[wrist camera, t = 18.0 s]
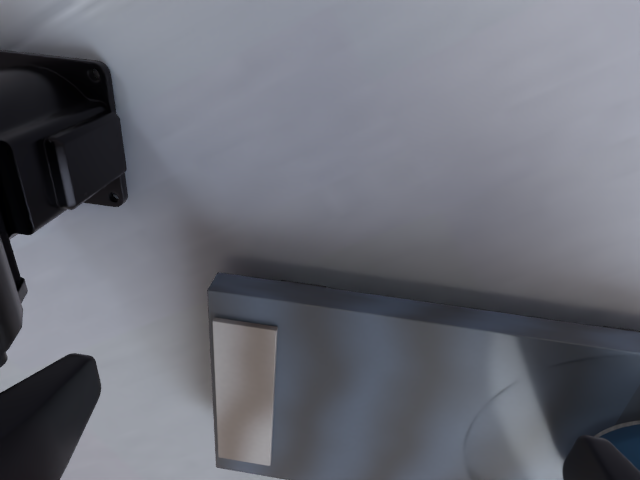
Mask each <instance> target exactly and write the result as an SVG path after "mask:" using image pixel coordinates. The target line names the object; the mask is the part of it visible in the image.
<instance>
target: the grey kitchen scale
mask: <svg viewBox="0 0 640 480" xmlns="http://www.w3.org/2000/svg"><path fill="white" fill-rule="evenodd" d="M207 292H208V312H209V333H210V353H211V373H212V393H213V413H214V433H215V453H216V467H217V468H222V469H228V470H234V471H240V472H245V473H251V474H257V475H263V476H269V477H275V478H280V479H286V480H563V474H562V469H563V463H564V461H565V459H566V457H567V455H568V454H569V452H570V450H571V448H572V447H573V445H574V443H575V441H576V440H577V438H578V437H579V436H581V435H589V436H595V435H596V434H598V433H599V432H601V431H603V430H605V429H607V428H610V427H612V426H615V425H618V424H622V423H626V422H632V421H639V420H640V331H635V330H628V329H621V328H614V327H607V326H604V327H598V326H591V325H584V324H577V323H570V322H563V321H556V320H549V319H542V318H535V317H528V316H521V315H514V314H507V313H500V312H493V311H486V310H479V309H472V308H465V307H458V306H451V305H444V304H437V303H430V302H423V301H416V300H409V299H402V298H395V297H388V296H381V295H374V294H367V293H360V292H353V291H346V290H338V289H331V288H327V287H326V286H319V285H312V284H305V283H298V282H291V281H284V280H281V281H275V280H268V279H261V278H254V277H247V276H240V275H233V274H226V273H217V275H216V276H215V278H214V280H213V281H212V283H211V285H210V287H209V288H208V290H207Z"/></svg>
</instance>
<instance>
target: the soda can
mask: <svg viewBox="0 0 640 480" xmlns="http://www.w3.org/2000/svg"><path fill="white" fill-rule="evenodd" d="M595 437H601V438H605V439H607V440H608V441H609V442H611V443H612V444H613V445H614V446H615V447H616V448H617V449H618V450H619V451H620V452H621V453H622V454H623V455H624V456H625V457H626V458H627V459H628V460H629V461H630V462H631V463H632V464H633V465H634V466H635V467H636V468H637V469H638V470H639V471H640V420H639V421H632V422H626V423H622V424H618V425H615V426H612V427H610V428H607V429H605V430H603V431H601V432H599V433H598V434H596V435H595Z"/></svg>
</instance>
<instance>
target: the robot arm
mask: <svg viewBox="0 0 640 480" xmlns="http://www.w3.org/2000/svg"><path fill="white" fill-rule="evenodd" d="M94 69H96V70H97V71H98V72H99V74H100V79H97V78H96V77H95V76H94V73H93V71H94ZM125 171H126V161H125V154H124V146H123V139H122V132H121V125H120V118H119V117H118V115H117V114H116V108H115V101H114V94H113V87H112V80H111V74H110V71H109V69H108V67H107V66H106V65H105V64H104V63H102V62H100V61H96V60H87V59H78V58H69V57H60V56H52V55H43V54H34V53H25V52H16V51H7V50H0V367H2V366H3V365H4V364H5V363H6V361H7V354H6V351H7V350H8V349H9V347H10V346H11V344H12V343H13V341H14V339H15V338H16V336H17V334H18V333H19V331H20V329H21V328H22V317H23V308H22V305H21V303H22V301H23V299H24V297H25V296H26V294H27V291H28V290H27V286H26V283H25V279H24V278H22V277H20V274H19V270H18V267H17V264H16V260H15V257H14V254H13V250H12V247H11V244H10V239H11V238H13V237H14V236H16V235H17V234H24V235H31V234H33V233H34V232H36V231H37V230H39V229H40V228H41V227H43V226H44V225H46V224H47V223H49V222H50V221H51V220H53V219H54V218H56V217H57V216H58V215H60V214H61V213H63V212H64V211H66V210H67V209H69V210H73V209H75V208H76V207H78V206H79V205H80V204H82V203H90V204H98V205H105V206H113V207H119V206H121V205H122V204H123V203H124V202H126V200H127V198H128V194H127V187H126V180H125ZM113 193H116V194H117V195H118V198H119V199H118V198H115V197H114V196H113ZM100 392H101V383H100V379H99V374H98V370H97V365H96V361H95V359H94V358H93V357H92V356H89V355H82V354H76V353H73V354H69V355H67V356H65V357H63V358H61V359H60V360H58V361H56V362H54V363H53V364H51V365H49V366H47V367H45V368H44V369H42V370H40V371H38V372H37V373H35V374H33V375H31V376H30V377H28V378H26V379H24V380H23V381H21V382H19V383H17V384H15V385H14V386H12V387H10V388H8V389H7V390H5V391H3V392H1V393H0V480H60V478H61V476H62V474H63V472H64V471H65V469H66V467H67V465H68V463H69V460H70V458H71V456H72V454H73V452H74V450H75V448H76V446H77V444H78V441H79V439H80V437H81V435H82V433H83V431H84V429H85V427H86V424H87V422H88V420H89V418H90V416H91V414H92V412H93V410H94V408H95V405H96V403H97V401H98V399H99V396H100ZM562 474H563V480H640V471H639V470H638V469H637V468H636V467H635V466H634V465H633V464H632V463H631V462H630V461H629V460H628V459H627V458H626V457H625V456H624V455H623V454H622V453H621V452H620V451H619V450H618V449H617V448H616V447H615V446H614V445H613V444H612V443H611V442H609V441H608V440H607V439H605V438H601V437H595V436H589V435H581V436H579V437H578V438H577V440H576V441H575V443H574V445H573V447H572V448H571V450H570V452H569V454H568V455H567V457H566V459H565V461H564V463H563V469H562Z"/></svg>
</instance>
